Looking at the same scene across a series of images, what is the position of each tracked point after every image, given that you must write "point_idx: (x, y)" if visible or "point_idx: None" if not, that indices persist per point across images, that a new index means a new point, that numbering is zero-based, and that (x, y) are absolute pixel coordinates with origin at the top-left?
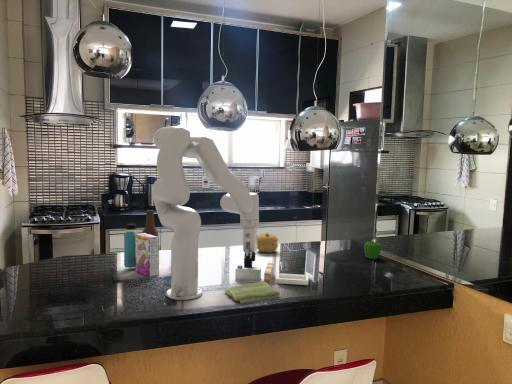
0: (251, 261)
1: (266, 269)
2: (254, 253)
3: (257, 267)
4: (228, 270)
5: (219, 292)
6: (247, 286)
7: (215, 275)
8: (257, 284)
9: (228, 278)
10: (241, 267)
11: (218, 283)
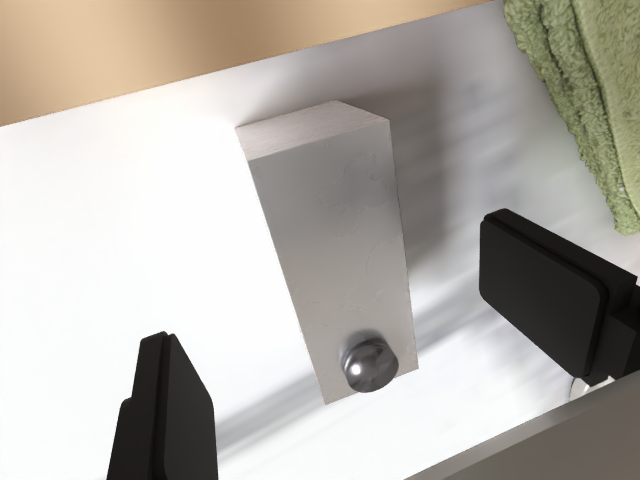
0: (581, 255)
1: (360, 16)
2: (167, 452)
3: (282, 204)
4: None
5: (612, 255)
6: None
7: (319, 441)
8: (630, 21)
9: None
10: (385, 344)
11: (465, 344)
